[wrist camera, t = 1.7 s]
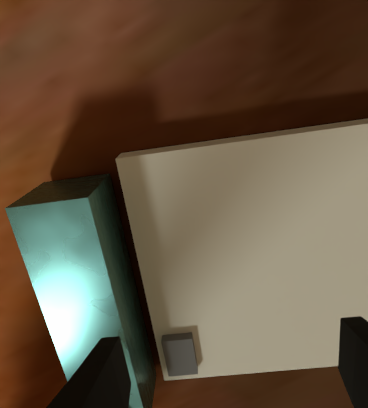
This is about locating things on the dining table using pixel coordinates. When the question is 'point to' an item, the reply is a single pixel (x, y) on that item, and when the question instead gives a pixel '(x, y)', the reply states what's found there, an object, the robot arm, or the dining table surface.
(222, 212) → the stool seat
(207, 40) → the dining table surface
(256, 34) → the dining table surface
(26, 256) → the dark green rectangular beam
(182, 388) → the dining table surface
